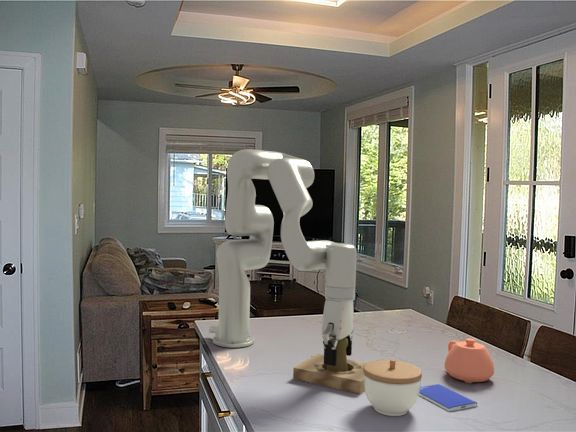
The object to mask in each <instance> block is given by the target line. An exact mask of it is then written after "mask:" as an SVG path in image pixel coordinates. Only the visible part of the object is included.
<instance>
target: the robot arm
mask: <svg viewBox="0 0 576 432" xmlns="http://www.w3.org/2000/svg"><path fill="white" fill-rule="evenodd" d="M226 179H227V198H226V206H225V207H226V208H225V217H224V228H225V231H226V233H228V234H229V235H231V236H236V237H249V238H248V239H247V238H245V239H231V240H227V241H224V242H223V243H221V244H220V245H219V246H218V248H217V250H216V262H217V268H218V269H217V270H218V280H219V281H218V285H219V286H218V323H217V324H218V325H215V324H211V325H210V327H209V328H208V332H209V333H211V334H214V337H213V338H212V344H214V346H215V345H216V346H219V347H222V348H223V347H224V348H244V347H249V346H252V345H253V344H254V343H255V338H254V336H252V335H250V312H251V311H250V310H251V309H250V308H251V306H250V305H251V283H250V280H249V277H248V276H247V273H246V271H250V270H259V269H262V268H265V267H266V266H267V265H268V264H269V262H270V258H271V256H272V255H271V253H272V247H273V246H272V244H273V238H274V237H273V235H274V225H275V221H274V216H273V213H272V211H271V210H270V208H269V207H267V206H265V205H261V204H256V197H257V194H256V192H257V191H256V187H255V185H254V183H253V180H254V179H255V180H268V181H269V183H270V185H271V188H272V190H273V192H274V195H275V197H276V199H277V201H278V204H279V206H280V209H281V211H282V213H283V218H282V220H281V224H280V240H281V245H282V247H283V249H284V252H285V254H286V257H287V258H288V261H289V262H290V264H291V265H292V266H293V267H294V268H295V269H297V271H301V272H307V271H309V272H310V271H315V270H325V290H324V291H325V292H324V295H325V296H324V297H325V301H324V305H323V313H322V322H321V323H322V324H321V337H322V344H323V355H324V364H327V365H332V366H335V365H336V361H337V349H335V348H336V345H337V342H338V341H339V340H341V339H343V338H345V337H347V339H348V345H347V347H346V357H347V356H348V357H350V356H352V347H353V345H352V344H353V339H354V338H353V332H354V323H355V321H354V318H355V317H354V316H355V315H354V301H355V300H356V280H357V279H356V278H357V277H356V276H357V255H358V254H357V248H356V246H355V245H353V244H351V243H338V242H334V241H331V240H327V239H325V240H322V239H321V240H308V241H307V240H306V239H305V236H304V235H303V232H302V229H301V225H300V224H301V223H300V220H301V217H303V216H305V215H306V214H308V212H310V210H311V209H312V208H313V199H312V197H311V195H310V193H309V191H308V188H310V186H312V185H313V183H314V180H315V170H314V168H313V166H312V165H311V163H310V162H309V161H308V160H306V159H303V158H300V157H296V156H293V155H290V154H287V153H284V152H279V151H272V150H271V151H270V150H263V149H249V148H247V149H241V150H237V151H236V152H234V153H233V155H232V156H231V157H230V158H229V160H228V163H227V168H226ZM332 336H335V337H332ZM331 340H332V341H334V342H333V344H332V342H331Z"/></svg>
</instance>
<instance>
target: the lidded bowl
mask: <svg viewBox="0 0 576 432" xmlns="http://www.w3.org/2000/svg"><path fill="white" fill-rule="evenodd" d="M365 363H366V364H365V365H364V367H363V373H364V389H365V391H364V393H365V396H366V399H367V401H368V402H369V404H370V405H371V406H372V407H373V408H374V410H375V411H376V412H377V413H379V414H381V415H384V416H387V417H400V416H404V415H406V414H407V413H408V411H409V410H411V409H412V408H413V407H414V406H415V405H416V403H417V401H418V399H419V396H420V395H419V393H420V387H422V378H423V372H422V370H421V368H420V367H418V366H416V365H414V364H412V363H408V362H405V361H399V360H396V359H394V358H392V359H391V358H390V359H388V360H387V359H382V360H381V359H379V360H372V361H368V362H365Z"/></svg>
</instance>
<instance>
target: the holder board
mask: <svg viewBox="0 0 576 432" xmlns="http://www.w3.org/2000/svg"><path fill="white" fill-rule="evenodd" d="M366 363H367V362H364V361H363V362H362V361H359V360H353V359H348V358H347V368H348V371H346V372H334V371H329V370H326V367H327V364H324V354H321V353H317V354H314V355H313V356H311V357H310V358H308V359H306V360H304V361H303V362H300V363H299V364H297V365H296V366H294V367H293V372H292V373H293V375H292V379H293V380H295V381H298V380H300V381H299V382H303V381H305V382H304V383H307V382H310V383H309V384H312V383H314V384H313V385H317V384H319V385H318V386H321V385H323V386H322V387H326V386H327V388H331V387H332V389H335V388H336V390H341V391H346V392H348V393H349V392H350V393H355V394H358V395H359V394H360V395H362V394H363V393H364V392H365V389H364V373H363V367H364V365H365V364H366Z"/></svg>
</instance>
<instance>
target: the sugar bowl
mask: <svg viewBox="0 0 576 432" xmlns="http://www.w3.org/2000/svg"><path fill="white" fill-rule="evenodd" d="M447 349H448V351H447V355H446V358H445V361H444V369H445V371H446V372H447V373H448V374H449V376H450V377H453V378H455V379H457V380H460V381H464V383H466V384H473V383H478V382H479V383H480V382H486V381H488V380H489V379H491V378H492V376H494V373H495V364H494V361H493V359H492V357H491V355H490V352H489V350H488V349H487V348H486V346H485V345H484V344H482V343H478V342H476V339H474V338H465V340H464V341H458V340H451V341H449V342H448V345H447Z"/></svg>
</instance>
